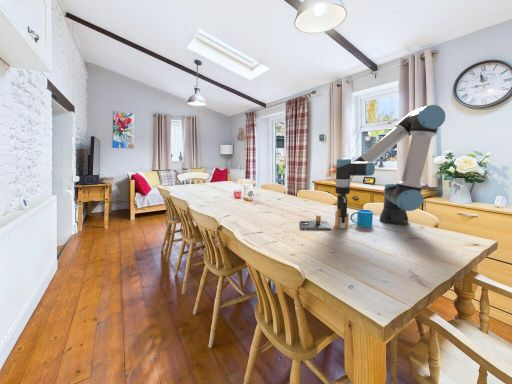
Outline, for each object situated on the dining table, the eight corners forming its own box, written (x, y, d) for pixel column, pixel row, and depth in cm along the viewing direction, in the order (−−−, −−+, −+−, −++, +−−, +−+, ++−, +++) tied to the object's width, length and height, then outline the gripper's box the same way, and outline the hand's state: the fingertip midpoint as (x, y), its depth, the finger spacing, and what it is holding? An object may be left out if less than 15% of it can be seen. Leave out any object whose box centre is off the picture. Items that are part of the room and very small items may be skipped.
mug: (371, 223, 145) (371, 209, 143) (373, 227, 137) (374, 213, 136) (349, 222, 148) (350, 209, 147) (350, 225, 140) (351, 212, 139)
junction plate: (327, 222, 147) (327, 212, 146) (330, 230, 133) (331, 219, 132) (300, 222, 149) (300, 212, 148) (301, 229, 135) (301, 218, 134)
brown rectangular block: (345, 225, 142) (346, 208, 140) (348, 228, 136) (348, 210, 134) (335, 225, 143) (335, 208, 141) (337, 228, 137) (337, 210, 135)
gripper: (332, 184, 146) (331, 221, 149) (339, 188, 126) (337, 231, 130) (345, 184, 145) (344, 221, 148) (354, 188, 125) (352, 231, 129)
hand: (341, 226), depth 139 cm, fingers open, 7 cm apart
